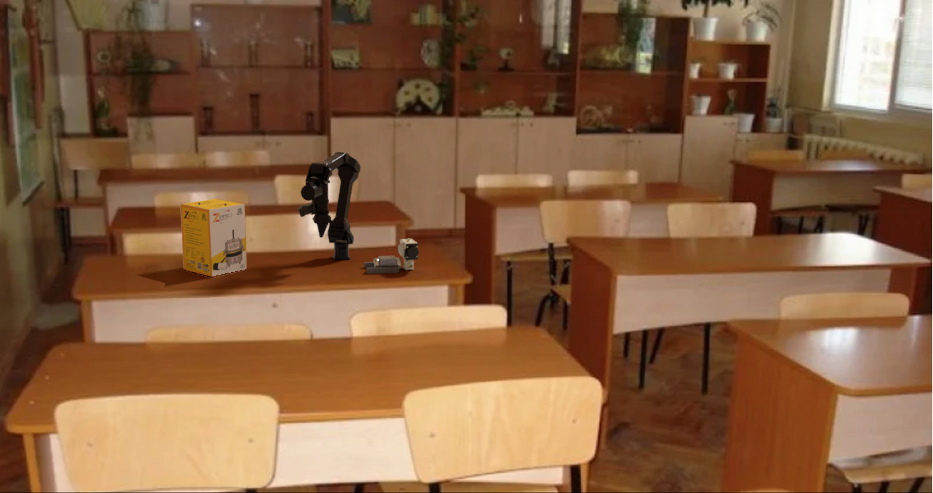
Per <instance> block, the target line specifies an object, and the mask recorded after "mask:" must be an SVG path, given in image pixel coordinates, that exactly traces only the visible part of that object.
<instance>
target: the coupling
mask: <svg viewBox="0 0 933 493" xmlns="http://www.w3.org/2000/svg"><path fill="white" fill-rule="evenodd" d="M372 262H373V266H374V267H399V270H401V269H402V259H401V257H396V256H395V255H378V258H377V257H374V258H373V261H372Z"/></svg>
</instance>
